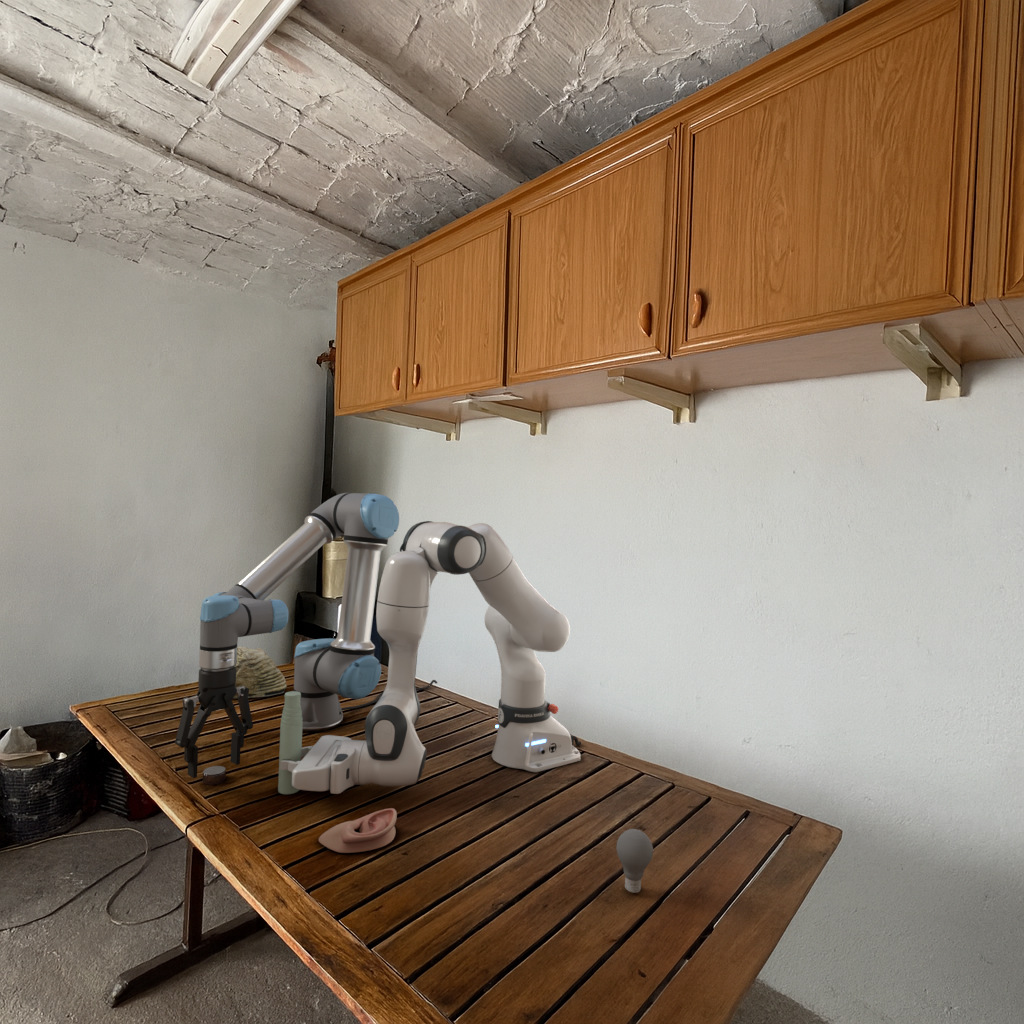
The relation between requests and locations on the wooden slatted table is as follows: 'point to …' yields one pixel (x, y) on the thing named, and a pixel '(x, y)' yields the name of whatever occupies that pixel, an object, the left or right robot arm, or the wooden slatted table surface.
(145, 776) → the wooden slatted table surface
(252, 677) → the fossil
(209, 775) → the cap
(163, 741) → the wooden slatted table surface
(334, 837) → the anatomical model
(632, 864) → the light bulb
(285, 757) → the bottle
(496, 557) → the right robot arm
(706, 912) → the wooden slatted table surface
